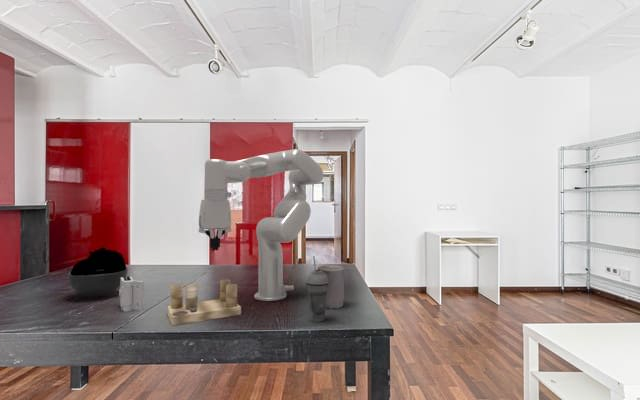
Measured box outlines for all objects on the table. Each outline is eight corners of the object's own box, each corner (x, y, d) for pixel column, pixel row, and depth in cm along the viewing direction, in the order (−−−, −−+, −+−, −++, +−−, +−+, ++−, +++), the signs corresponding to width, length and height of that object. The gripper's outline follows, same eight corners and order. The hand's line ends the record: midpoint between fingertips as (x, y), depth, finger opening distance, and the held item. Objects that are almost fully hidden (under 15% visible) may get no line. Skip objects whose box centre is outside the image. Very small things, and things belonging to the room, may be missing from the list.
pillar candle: (311, 305, 120) (312, 264, 120) (329, 299, 127) (329, 260, 127) (331, 311, 113) (332, 267, 114) (349, 305, 121) (349, 264, 121)
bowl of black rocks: (106, 303, 122) (107, 252, 122) (53, 303, 122) (54, 252, 123) (137, 290, 142) (138, 246, 142) (91, 289, 142) (92, 246, 143)
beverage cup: (326, 324, 100) (326, 258, 101) (303, 322, 102) (303, 257, 102) (330, 316, 108) (330, 255, 108) (308, 315, 109) (309, 254, 110)
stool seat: (230, 304, 121) (230, 278, 121) (240, 314, 110) (241, 285, 110) (167, 313, 110) (167, 285, 110) (172, 325, 99) (172, 293, 99)
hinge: (143, 310, 114) (144, 281, 114) (126, 314, 110) (126, 284, 110) (129, 302, 123) (130, 275, 123) (113, 305, 119) (113, 277, 119)
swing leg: (200, 310, 105) (200, 288, 105) (188, 312, 103) (188, 289, 103) (196, 305, 110) (196, 284, 110) (184, 307, 108) (185, 285, 109)
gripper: (234, 196, 120) (233, 247, 119) (190, 195, 112) (189, 249, 111) (240, 196, 113) (239, 249, 112) (194, 194, 105) (193, 252, 105)
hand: (214, 249), depth 112 cm, fingers closed
